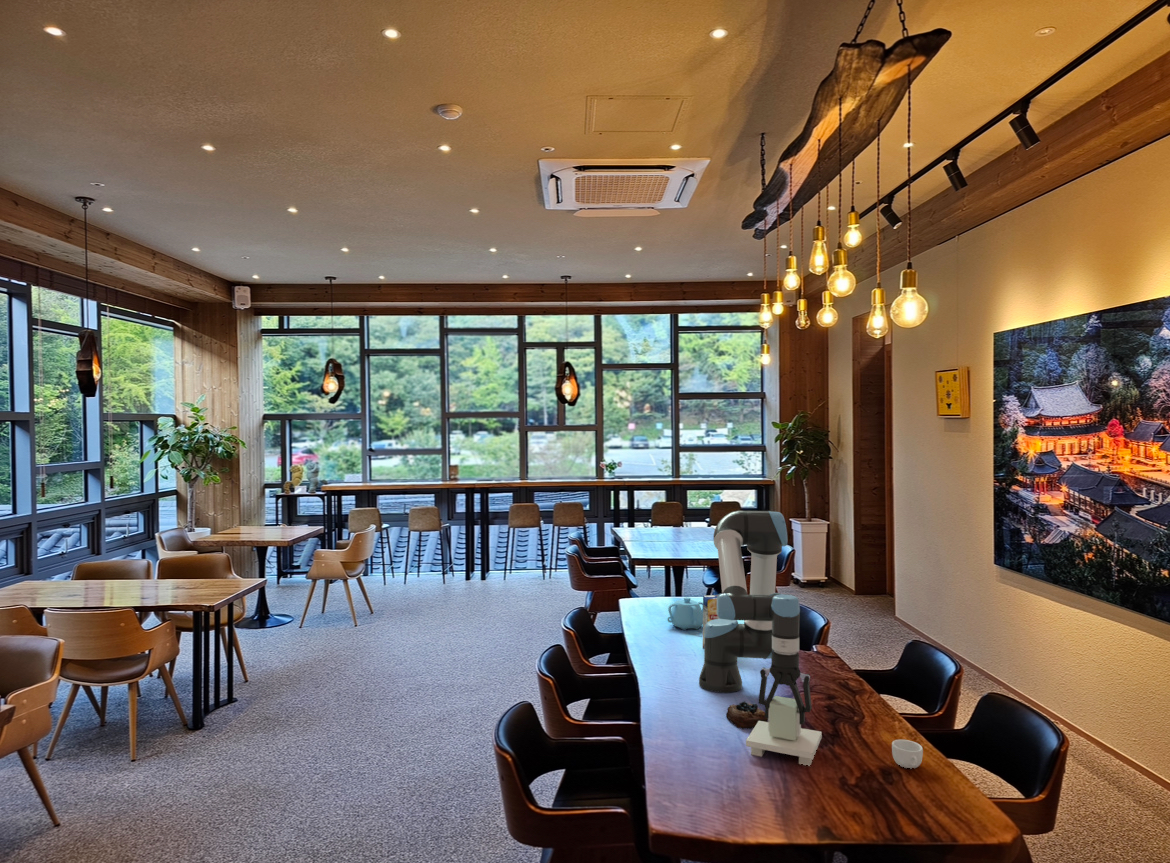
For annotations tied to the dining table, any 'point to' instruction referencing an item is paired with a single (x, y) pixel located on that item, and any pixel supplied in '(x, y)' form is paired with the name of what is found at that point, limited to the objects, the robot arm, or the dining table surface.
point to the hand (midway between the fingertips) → (784, 732)
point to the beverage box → (709, 611)
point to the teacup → (907, 753)
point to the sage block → (783, 717)
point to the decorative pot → (686, 614)
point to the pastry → (745, 715)
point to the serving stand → (784, 743)
